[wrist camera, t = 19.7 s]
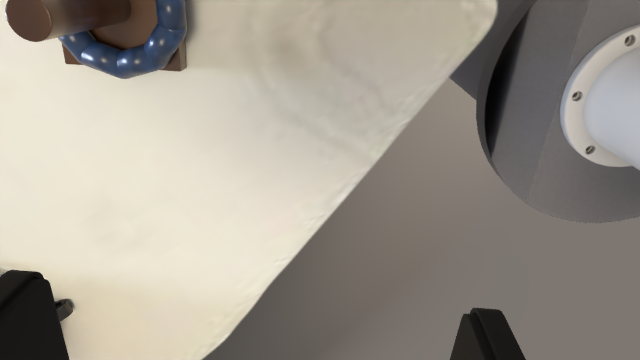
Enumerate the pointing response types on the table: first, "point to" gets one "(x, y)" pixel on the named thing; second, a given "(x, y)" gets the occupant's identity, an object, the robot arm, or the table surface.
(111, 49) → the ring
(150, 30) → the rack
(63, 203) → the table surface
